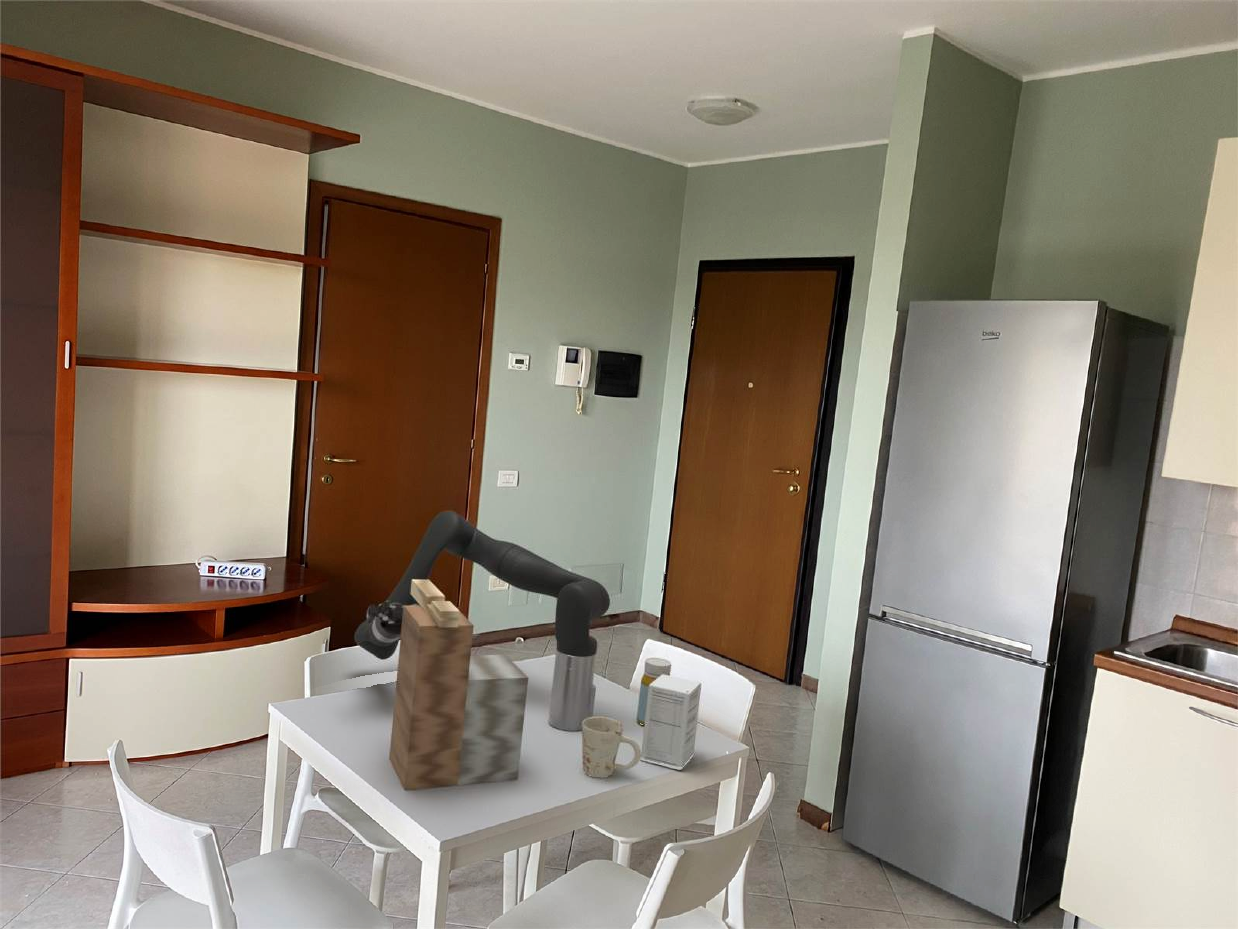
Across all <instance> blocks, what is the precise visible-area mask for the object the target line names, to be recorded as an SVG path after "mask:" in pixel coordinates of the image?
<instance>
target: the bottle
mask: <svg viewBox="0 0 1238 929" xmlns="http://www.w3.org/2000/svg"><path fill="white" fill-rule="evenodd" d="M671 669H672V662H671V661H670V660H668V659H665V658H660V657H647V658H646V659H645V661H644V670H643V672H644V673H643V674H642V677H641V679H640V685H639V686H640V687H639V696H638V703H637V704H638V705H637V712H636V721H637V723H638V722H639V723H641V724H643V725H645V715H646V707H647V698H648V689H649V685H650V684H651V683H652V682H653V681H655V680H656V679H657V678H658V677H660V676H661V675H662V674H663V675H668V676H671V671H672V670H671ZM639 723H638V724H639Z"/></svg>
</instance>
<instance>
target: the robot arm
mask: <svg viewBox="0 0 1238 929" xmlns="http://www.w3.org/2000/svg"><path fill="white" fill-rule="evenodd" d="M443 551H446V552H447V553H449V554H451V555H453V556H456V557H459V558H462V559H464V560H467V561H470V562H473V563H475V564H477V565H479V566H481V567H482V568H483V569H484V570H486V571H487V572H488V573H489V574H490V575H492V576H495V577H496V578H497V579H499V580H501V581H503V582H504V583H506V584H508V585H510V586H512V587H514V588H516V589H519V590H521V591H526V592H528V593H529V592H530V593H533V594H534V593H535V594H539V595H544V596H548V597H553V598H555V599H556V606H555V619H554V620H555V621H554V637H555V641H556V649H555V660H554V666H553V667H554V669H553V676H552V686H551V694H550V703H549V704H550V705H549V711H548V721H547V722H548V724H549V725H550V726H552V727H553V728H555V729H558V730H563V731H570V732H571V731H573V732H575V731H576V732H577V731H582V722H583V720H585V719H586V718H590V717H594V709H595V702H596V700H595V699H596V691H597V687H596V685H595V684H594V677H595V668H596V660H597V652H598V641H597V638H594V637H593V636H591V635H590V627H591V626H590V624H591V621H593V620H596V619H597V620H598V619H599V618H601V617H602V616H604V615H605V614H606V613H607V612H608V610H609V609H610V604H611V598H610V595H609V593H608V590H607V589H606V587H605V586H603V584H602V583H600V582H598V581H596V580H595V579H592V578H590V577H586V576H584V575H580V574H577V573H575V572H572V571H571V570H567V569H566V568H563V567H561V566H559V565H557V564H555V563H554V562H551V561H550V560H548V559H546V558H544V557H542V556H539V555H538V554H536V553H534V552H532V551H530V550H529V549H526V548H525V547H523V546H521V545H518V544H515V543H514V542H510V541H505V540H498V539H496V538H492V537H491V536H489V535H487V534H485V533H484V532H483V531H481V530H480V529H478V528H476V526H474V525H473V524H472V523H471V522H469V521H468V520H467V519H466V518H464V517H463V515H460V514H459V513H457V512H456V511H455V510H454V511H453V510H443V511H442V512H440V513H438V514H437V515H436V516H435V517H434V518H433V519H432V521H431V522H430V525H429V526H428V528H427V529H426V532H425V534H424V536H423V537H422V540H421V542H420V544H419V546H418V548H417V550H416V551H415V553H414V555H413V557H412V560H411V561H410V564H409V565H408V567H407V569H406V571H405V572H404V574H403V576H402V577H401V579H400V581H399V582H398V583H397V584H396V586H395V588H394V590H393V591H392V592H391V594H390V595H389V597H388V598H387V599H386V600H385V601H384V602H382V603H380V604H378V606H376V605H375V604H371V605H369V606H368V608H367V610H366V619H365V620H364V621H363V622H362V623H361V624H360V625H359V626H358V627H357V628H356V630H355V632H354V641H355V644H357V645H358V646H359V648H362V649H364V651H367V652H368V653H370V654H371V655H373V656H374V657H376V658H377V659H379V660H387V659H389V658H391V657H392V656H393V655H394V654H395V652H396V651H397V648H398V645H399V644H400V643H399V642H400V639H401V628H402V618H403V607H404V606H415V605H420V604H419V603H418V602H417V601H416V600H415V598H414V597H413V596H412V595H411V594H410V593H411V583H412V579H419V580H430V576H431V573H432V570H433V567H434V564H435V562H436V561H437V559H438V558H439V556H440V555H441V554H442V553H443Z"/></svg>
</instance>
